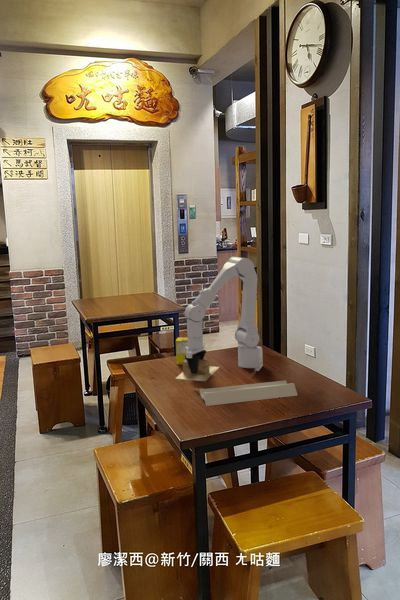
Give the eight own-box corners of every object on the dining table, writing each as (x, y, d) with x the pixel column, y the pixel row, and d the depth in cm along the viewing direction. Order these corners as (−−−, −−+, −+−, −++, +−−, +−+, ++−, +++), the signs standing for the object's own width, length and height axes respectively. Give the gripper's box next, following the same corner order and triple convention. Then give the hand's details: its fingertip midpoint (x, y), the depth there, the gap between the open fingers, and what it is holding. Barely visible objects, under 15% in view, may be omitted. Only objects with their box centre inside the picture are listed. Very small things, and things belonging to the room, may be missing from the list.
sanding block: (209, 372, 188) (209, 360, 187) (205, 376, 183) (205, 363, 183) (187, 370, 191) (187, 358, 190) (183, 374, 187) (182, 361, 186)
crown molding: (284, 385, 176) (284, 376, 175) (298, 398, 164) (298, 387, 164) (199, 394, 170) (198, 384, 169) (206, 408, 158) (206, 397, 158)
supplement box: (192, 362, 205) (191, 336, 203) (191, 366, 199) (190, 340, 198) (178, 362, 206) (177, 336, 204) (176, 366, 200) (175, 340, 198)
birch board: (219, 369, 194) (219, 367, 194) (205, 383, 179) (205, 381, 179) (191, 367, 199) (191, 364, 198) (174, 381, 183) (174, 378, 183)
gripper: (192, 331, 193) (193, 364, 195) (177, 340, 179) (179, 376, 182) (209, 332, 190) (210, 366, 193) (196, 341, 177) (197, 378, 179)
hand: (196, 371), depth 187 cm, fingers closed on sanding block, 4 cm apart
